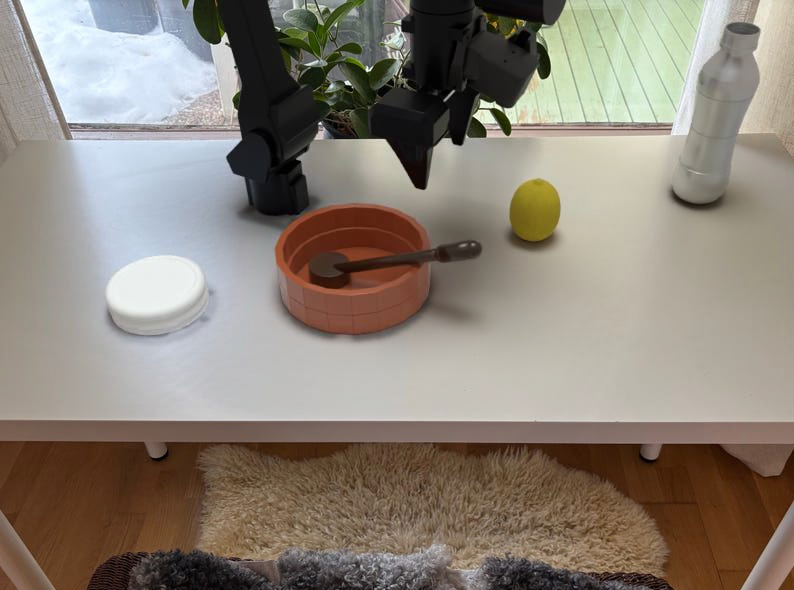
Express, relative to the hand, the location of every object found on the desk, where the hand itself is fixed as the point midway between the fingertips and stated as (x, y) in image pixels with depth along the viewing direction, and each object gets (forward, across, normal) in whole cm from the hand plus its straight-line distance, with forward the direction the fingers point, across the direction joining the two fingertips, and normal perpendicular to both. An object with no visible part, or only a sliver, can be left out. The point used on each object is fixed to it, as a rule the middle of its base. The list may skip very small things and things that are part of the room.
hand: (440, 165), depth 77 cm
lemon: (+12, +8, -8) cm, 17 cm away
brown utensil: (+11, -8, +2) cm, 14 cm away
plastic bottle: (+12, +25, -23) cm, 36 cm away
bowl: (+12, -8, +6) cm, 16 cm away
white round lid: (+12, -19, +23) cm, 32 cm away
